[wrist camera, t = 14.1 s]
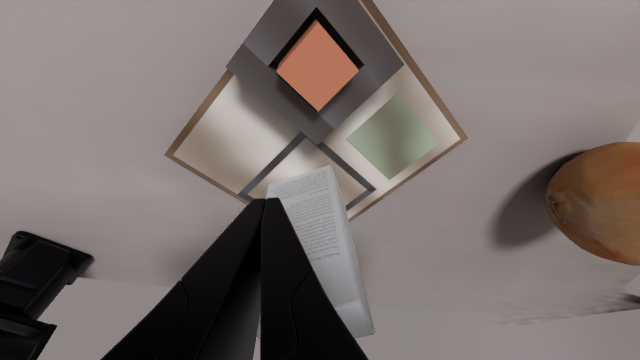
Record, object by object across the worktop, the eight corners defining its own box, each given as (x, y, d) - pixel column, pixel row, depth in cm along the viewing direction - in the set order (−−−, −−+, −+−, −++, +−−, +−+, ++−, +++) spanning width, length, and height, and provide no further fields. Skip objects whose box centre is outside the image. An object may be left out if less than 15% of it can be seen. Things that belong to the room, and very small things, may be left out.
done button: (315, 94, 16) (318, 111, 14) (280, 59, 15) (276, 71, 13) (349, 59, 15) (359, 70, 13) (314, 17, 14) (318, 22, 11)
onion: (617, 186, 26) (758, 269, 18) (517, 217, 28) (604, 305, 20) (648, 104, 21) (868, 172, 13) (521, 150, 23) (642, 233, 15)
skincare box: (286, 215, 24) (277, 357, 15) (267, 183, 22) (241, 328, 12) (345, 197, 24) (377, 336, 14) (332, 162, 21) (360, 300, 11)
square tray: (315, 239, 28) (317, 270, 25) (168, 150, 20) (144, 177, 17) (463, 134, 21) (491, 157, 18) (325, -63, 14) (332, -81, 10)
